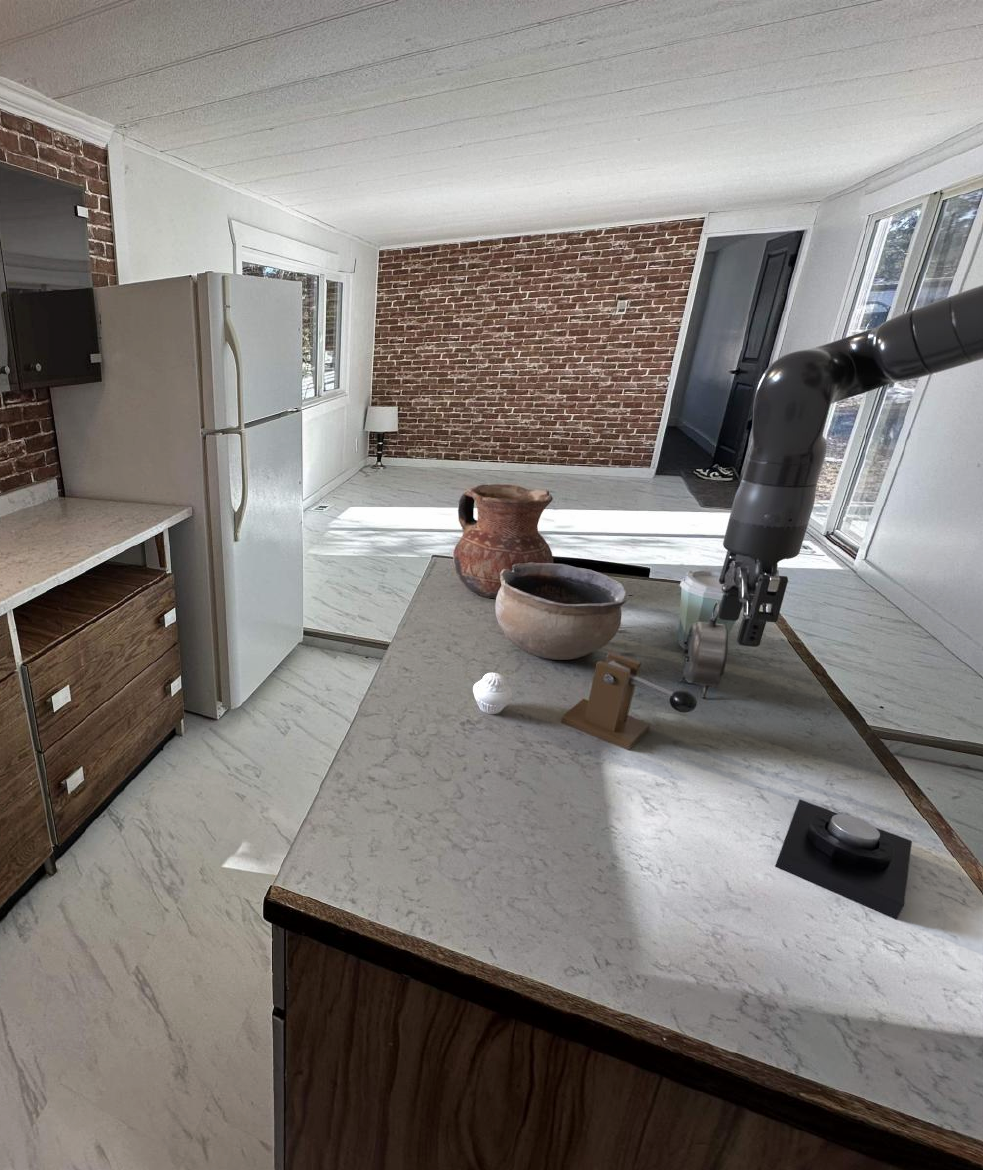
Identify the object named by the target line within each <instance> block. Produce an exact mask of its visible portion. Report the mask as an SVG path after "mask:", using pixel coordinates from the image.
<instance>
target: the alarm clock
mask: <svg viewBox="0 0 983 1170" xmlns="http://www.w3.org/2000/svg"><path fill="white" fill-rule="evenodd" d="M717 604H718V609H717V614H716V617H714V611H715V608H716V605H717ZM719 609H720V603H719V602H716V603H715V604H714V607H713V611H712V617H711V618H710V623H707V622H696V623H694V624H693V625H692V626H691V628H690V630H689V633H688V637H687V642H684V644H686V647H685V649H684V657H683V671H682V676H681V678H680V679H679V680H678V683H680V682H682V681H683V680H686V682H687V683H688V684H689V683H690V684H694V685H697V686H698V685H699V686H701V695H700V696H701V699H706V698H707V693H708V688H709V687H711V688H717V687H719V686H720V684H721V681H722V679H723V676H724V672H725V668H726V663H727V655H728V646H729V635H728V630H727V627H726V625H724V624H716V621H717V617H718V612H719Z"/></svg>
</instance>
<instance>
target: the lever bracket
mask: <svg viewBox="0 0 983 1170" xmlns="http://www.w3.org/2000/svg"><path fill="white" fill-rule="evenodd" d="M612 660H614V661H616V662H619V663H621V664H623V665H626V666H628V667H630V668H632V669H631V671H629V670H626V669H623V668H620V667H617V666H614V665H611V664H608V663H609V662H610V661H612ZM641 664H642V662H641V661H638V660H635V659H632V658H630V657H626V656H623V655H619V654H617V653H613V652H609V653H607V655H606V659H605V661H601V660H599V661H597V662H596V665H595V669H594V674H593V678H592V683H591V688H590V693H589V697H588V699H586V698H582V699H581V700H580V701H578V702H577V703H576V704H575V705H574V706H573V707H572V708H571V709H569V710H568V711H567V712H566V713H564V714H563V715H562V716H561V720H560V723H561V724H564V725H566V726H569V727H571V728H574V729H576V730H578V731H581V732H583V733H585V734H589V735H590V736H593V737H595V738H598V739H600V740H602V741H605V742H608V743H610V744H612V745H614V746H617V747H619V746H620V748H622V749H624V750H626V751H630V750H631V749H632V748H633V747H635V745H636V744H637V743H638V742H639V741H640V740H641V739H642V737H644V735H645V734H646V733H647V732H648V731H649V730H650V726H651V723H649V722H648V721H647V722H646V721H644V720H642V719H639V718H636V717H634V716H631V715H629V713H630V709H631V704H632V700H633V696H634V694H635V688H636V686H635V685H633V684H631V683H628V681H629V677H630V674H632V675H635V676H637V677H639V673H640V668H641ZM636 742H637V743H636Z"/></svg>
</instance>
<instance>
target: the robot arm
mask: <svg viewBox="0 0 983 1170" xmlns="http://www.w3.org/2000/svg"><path fill="white" fill-rule="evenodd" d="M981 360H983V284H982V285H979V286H976V287H973V288H969V289H967V290H964V291H961V292H958V293H956V294H954V295H950V296H948V297H945V298H943V299H939V300H937V301H934V302H931V303H928V304H926V305H923V306H920V307H917V308H915V309H912V310H909V311H907V312H905V313H901V314H899V315H897V316H895V317H894V316H893V318H890V319H888V320H886V321H884V322H882V323H881V324H880V325H878V326H876V327H873V328H871V329H867V330H865V331H861V332H858V333H855V334H853V335H850V336H847V337H843V338H841V339H837V340H835V341H832V342H829V343H828V342H827V343H825V344H822V345H819V346H816V347H811V348H807V349H800V350H795V351H792V352H789V353H786V354H784V355H782V356H780V357H778V358H777V359H775V360H774V361H773V362H771V364H770V365H769V366H768V367H767V368H766V369H765V370H764V372H763V373H762V375H761V377H760V378H759V381H758V384H757V387H756V390H755V395H754V400H753V407H752V422H751V423H752V425H751V446H750V448H749V450H748V453H747V454H748V455H747V457H746V461H745V465H744V469H743V473H742V476H741V477H742V478H741V480H740V484H739V486H738V488H737V489H736V491H735V494H734V495H735V496H734V498H733V502H732V506H731V510H730V515H729V518H728V522H727V525H726V530H725V534H724V537H723V541H722V546H723V548H724V549H725V550H726V551H727V552H726V554H725V557H724V562H723V565H722V569H721V571H720V572H721V575H720V578H719V583H720V584H723V586H722V592H723V593H725V594H723V597H722V601H721V605H720V609H719V612H718V616H719V618H720V619H722V620H730V621H736V622H737V621H738V620H739V619H740V616H741V613H742V611H743V613H742V619H741V623H740V626H739V629H738V634H737V637H736V642H737V644H738V645H739V646H741V647H742V646H743V647H751V648H757V647H759V646H760V645H761V641H762V639H763V635H764V631H765V628H766V625H767V623H777V622H778V620H779V617H780V612H781V609H782V604H783V601H784V597H785V593H786V590H787V587H788V583H789V577H788V576H787V575H780V573H779V570H778V563H779V562H781V561H783V560H790V559H793V558H796V557H798V556H799V554H800V552H801V549H802V546H803V542H804V539H805V536H806V534H807V533H806V532H807V529H808V526H809V523H810V519H811V516H812V512H813V509H814V506H815V503H816V492H817V487H818V483H819V480H820V476H821V473H822V470H823V466H824V463H825V458H826V455H827V450H828V441H827V439H826V438H825V436H824V431H825V428H826V424H827V420H828V416H829V412H830V409H831V405H832V404H835V403H838V402H840V401H841V402H842V401H844V400H847V399H850V398H853V397H856V396H859V395H862V394H865V393H868V392H871V391H873V390H877V389H879V388H883V387H886V386H888V385H891V384H895V383H897V382H905V381H911V380H915V379H919V378H923V377H927V376H930V375H934V374H938V373H941V372H945V371H948V370H951V369H955V368H958V367H961V366H964V365H967V364H972V363H975V362H978V361H981ZM742 605H743V608H742ZM761 606H762V611H761ZM741 609H742V610H741Z"/></svg>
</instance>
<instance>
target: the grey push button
mask: <svg viewBox="0 0 983 1170" xmlns="http://www.w3.org/2000/svg"><path fill="white" fill-rule="evenodd" d="M875 827H876V826H874V825H873V824H871V823H869V822H868V821H866V820H864V819H861V818H859V817H856V816H854V815H849V814H843V813H838V814H837V815H834V816H833V817H832V819H831V821H830V823H829V826H828V828H827V830H828V833H829V834H830V835H831V836H832V837H834V838H836V839H837V840H839V841H840V842H842V843H845V844H847V845H850V846H852V847H855V848H858V849H864V850H873V849H874V848H875V846H876V844H877V842H878V839H879V837H880V833H879V831H878V830H877V829H876V828H877V827H876V828H875Z"/></svg>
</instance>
